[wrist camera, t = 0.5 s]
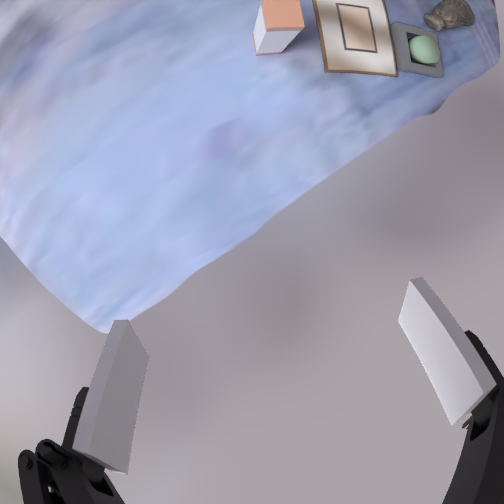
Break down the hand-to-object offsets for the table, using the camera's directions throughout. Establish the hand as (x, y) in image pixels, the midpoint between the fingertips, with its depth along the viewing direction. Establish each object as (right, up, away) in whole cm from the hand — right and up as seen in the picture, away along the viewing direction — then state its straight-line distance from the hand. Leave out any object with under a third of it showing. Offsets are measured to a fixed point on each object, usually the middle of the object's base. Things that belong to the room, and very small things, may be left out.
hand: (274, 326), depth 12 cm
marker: (+1, +27, +12) cm, 30 cm away
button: (+21, +30, +12) cm, 39 cm away
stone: (+27, +38, +8) cm, 48 cm away
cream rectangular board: (+12, +31, +11) cm, 35 cm away
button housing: (+21, +30, +12) cm, 39 cm away
